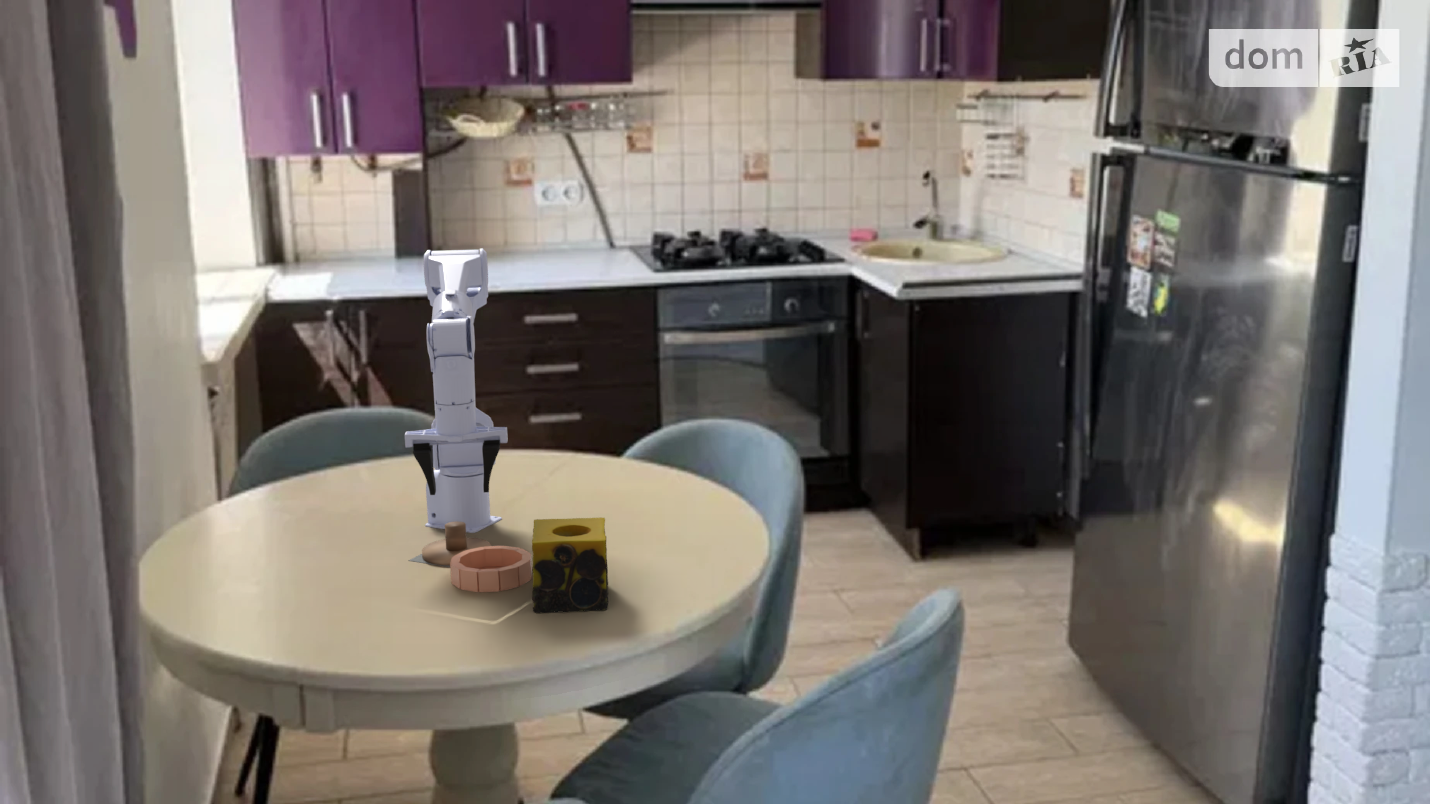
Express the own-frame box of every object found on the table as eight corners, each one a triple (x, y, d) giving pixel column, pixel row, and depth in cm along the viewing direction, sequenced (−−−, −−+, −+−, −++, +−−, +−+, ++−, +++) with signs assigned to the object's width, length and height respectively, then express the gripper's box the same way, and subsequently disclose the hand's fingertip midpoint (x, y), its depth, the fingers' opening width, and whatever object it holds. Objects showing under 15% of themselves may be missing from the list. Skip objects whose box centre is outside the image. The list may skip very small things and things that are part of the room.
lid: (408, 560, 200) (406, 530, 199) (449, 540, 209) (447, 511, 208) (465, 569, 196) (463, 538, 195) (504, 548, 205) (502, 518, 204)
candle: (535, 587, 189) (531, 518, 187) (608, 584, 190) (606, 515, 188) (531, 615, 180) (528, 542, 177) (609, 611, 180) (606, 539, 178)
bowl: (436, 587, 190) (434, 565, 189) (481, 563, 200) (480, 542, 199) (503, 598, 185) (502, 576, 185) (546, 573, 195) (545, 551, 194)
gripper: (400, 409, 193) (406, 502, 196) (504, 404, 194) (509, 496, 197) (405, 398, 200) (411, 488, 202) (505, 394, 201) (510, 483, 204)
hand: (459, 491), depth 200 cm, fingers open, 7 cm apart
